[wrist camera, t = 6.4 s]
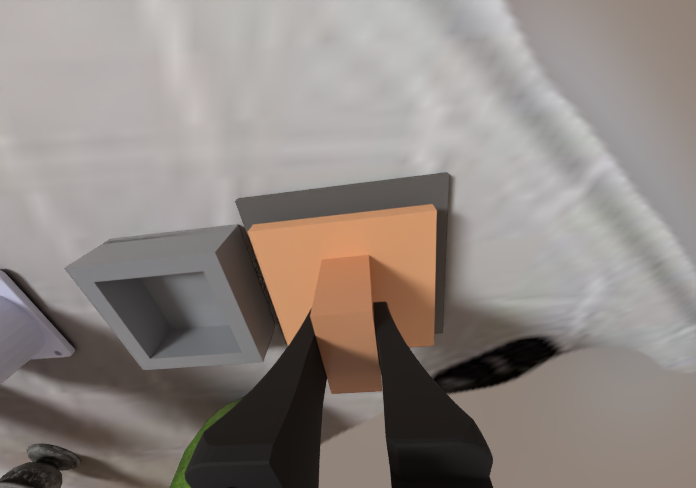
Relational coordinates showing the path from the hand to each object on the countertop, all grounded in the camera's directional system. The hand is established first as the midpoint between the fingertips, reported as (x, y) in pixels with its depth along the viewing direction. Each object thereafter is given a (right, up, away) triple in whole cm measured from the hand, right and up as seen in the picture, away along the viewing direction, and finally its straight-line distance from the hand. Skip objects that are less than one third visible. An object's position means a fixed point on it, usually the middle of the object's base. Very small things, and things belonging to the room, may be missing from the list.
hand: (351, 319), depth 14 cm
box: (-10, +1, +4) cm, 11 cm away
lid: (0, +2, +3) cm, 4 cm away
